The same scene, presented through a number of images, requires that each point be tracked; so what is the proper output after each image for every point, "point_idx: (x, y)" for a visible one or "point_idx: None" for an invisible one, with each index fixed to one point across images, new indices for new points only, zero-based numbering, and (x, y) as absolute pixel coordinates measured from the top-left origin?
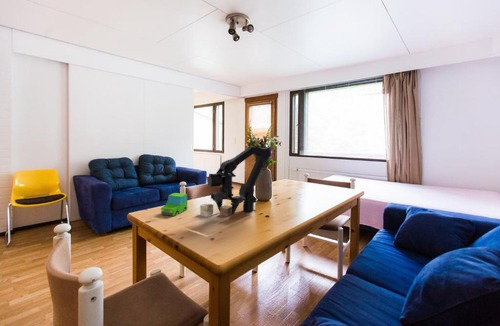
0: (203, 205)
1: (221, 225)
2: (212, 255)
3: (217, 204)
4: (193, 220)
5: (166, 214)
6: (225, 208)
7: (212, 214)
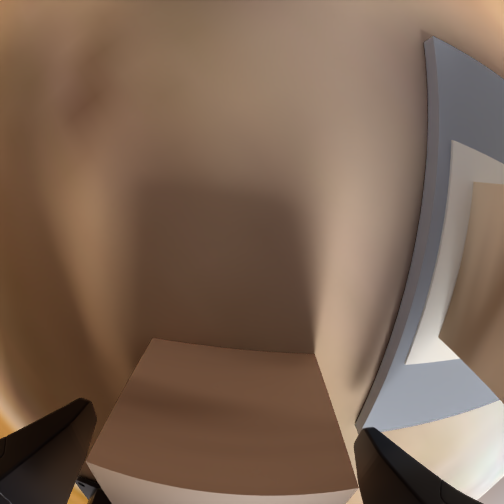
0: None
1: (56, 26)
2: None
3: (449, 499)
4: (478, 18)
5: None
6: (144, 476)
7: (434, 290)
